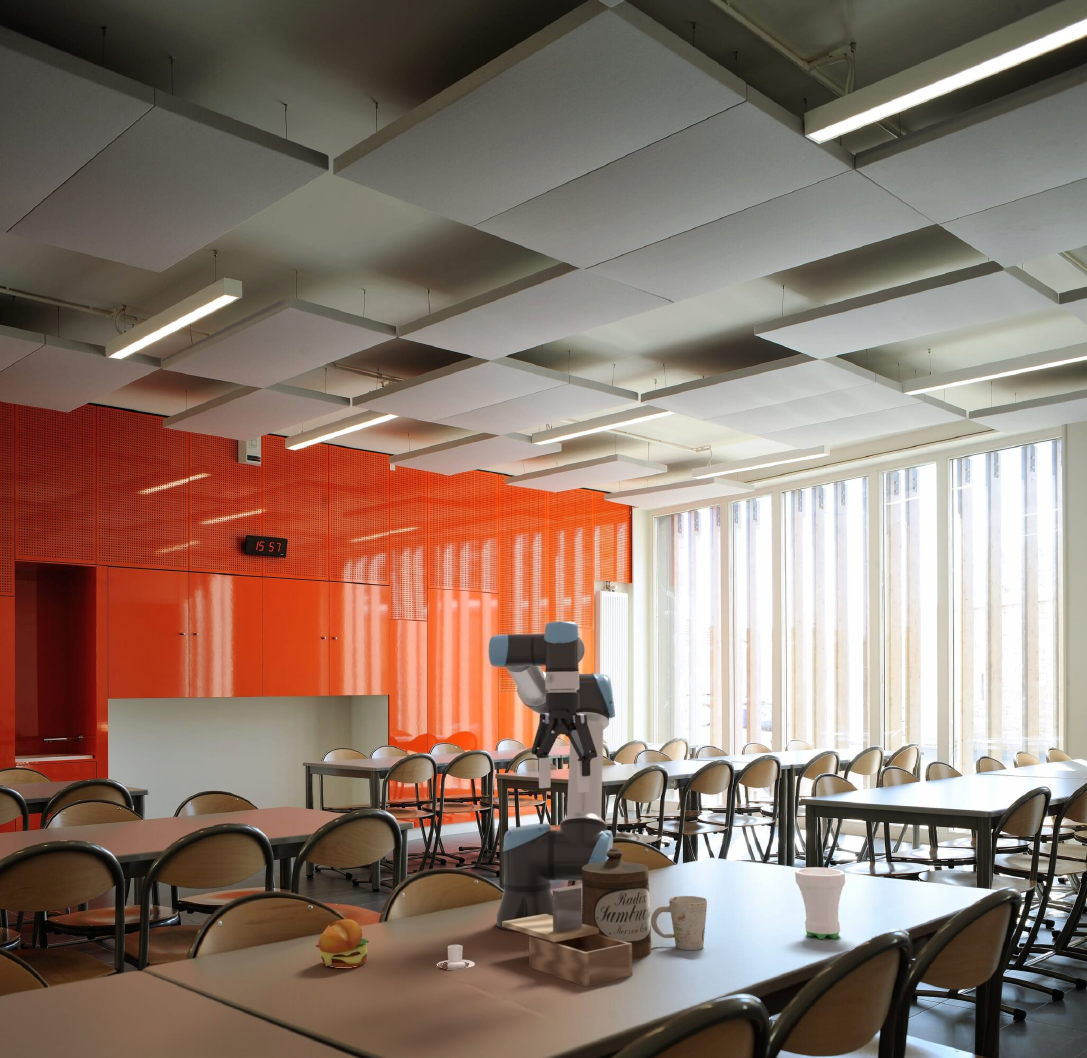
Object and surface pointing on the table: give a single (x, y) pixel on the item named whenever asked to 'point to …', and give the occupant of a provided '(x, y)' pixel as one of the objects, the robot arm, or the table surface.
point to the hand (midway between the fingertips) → (563, 790)
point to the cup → (821, 899)
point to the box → (582, 958)
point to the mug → (684, 921)
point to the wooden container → (618, 901)
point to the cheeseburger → (343, 944)
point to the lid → (557, 919)
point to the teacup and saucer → (456, 958)
